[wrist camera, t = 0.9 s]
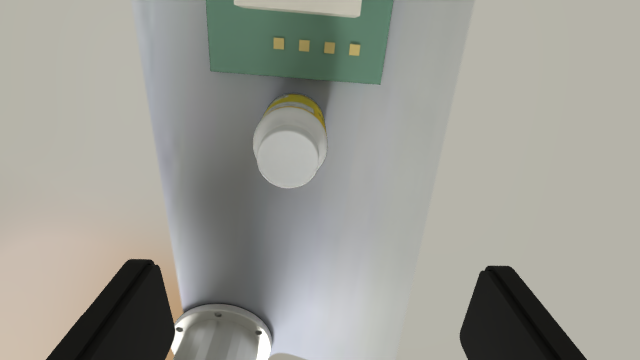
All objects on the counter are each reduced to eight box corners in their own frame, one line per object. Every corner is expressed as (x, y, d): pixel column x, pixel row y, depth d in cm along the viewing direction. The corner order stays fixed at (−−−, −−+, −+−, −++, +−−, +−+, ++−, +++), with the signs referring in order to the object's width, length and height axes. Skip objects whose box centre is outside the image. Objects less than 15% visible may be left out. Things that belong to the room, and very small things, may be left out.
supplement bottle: (317, 155, 30) (319, 206, 21) (261, 143, 29) (238, 190, 21) (330, 99, 28) (338, 129, 19) (270, 85, 27) (249, 110, 18)
